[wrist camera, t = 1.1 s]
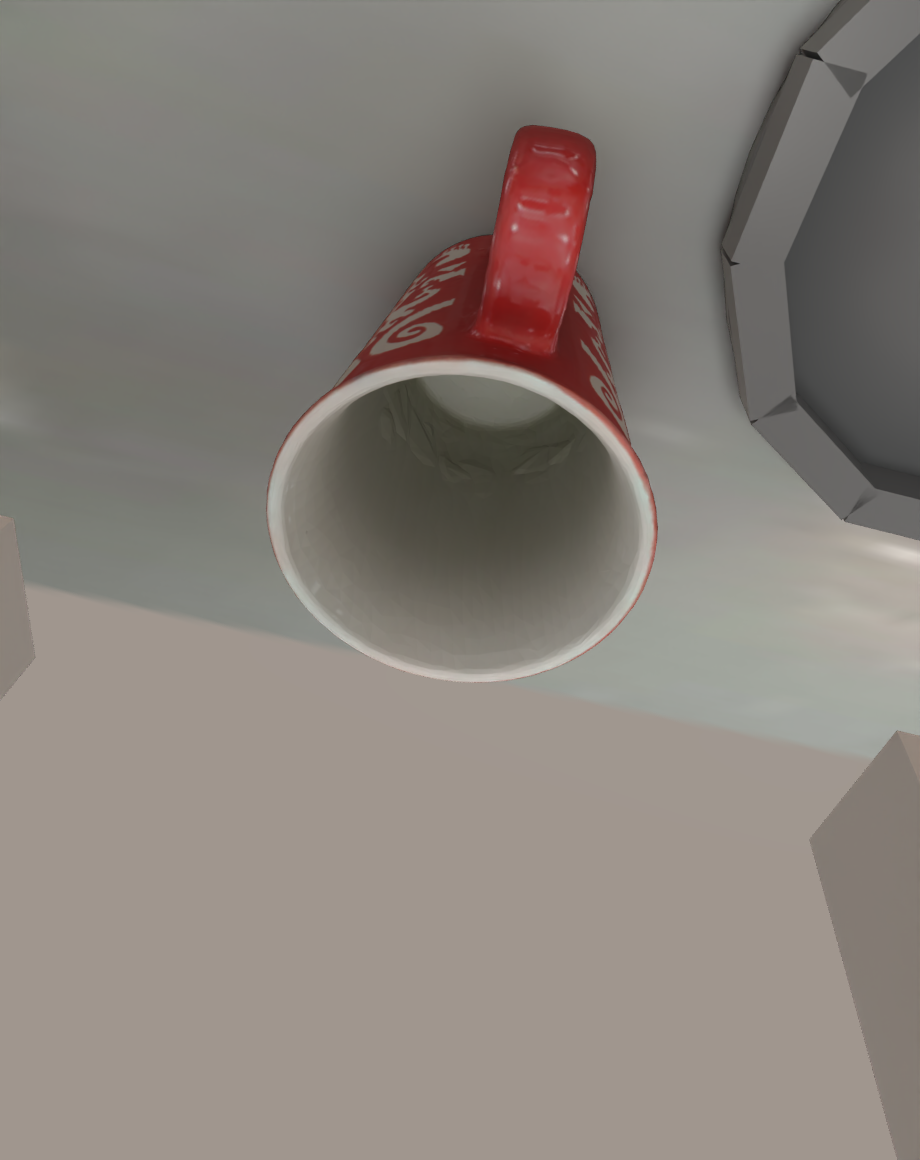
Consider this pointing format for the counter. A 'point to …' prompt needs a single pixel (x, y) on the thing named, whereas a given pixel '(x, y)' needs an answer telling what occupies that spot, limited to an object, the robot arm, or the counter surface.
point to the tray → (837, 267)
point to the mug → (476, 455)
